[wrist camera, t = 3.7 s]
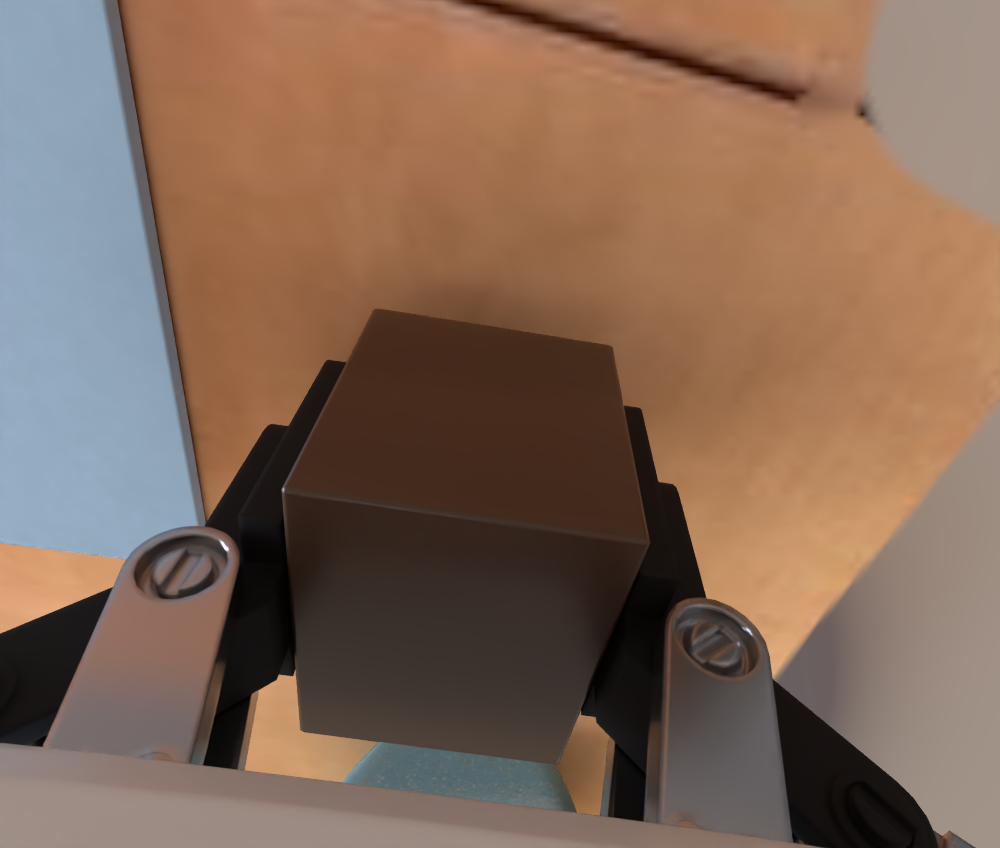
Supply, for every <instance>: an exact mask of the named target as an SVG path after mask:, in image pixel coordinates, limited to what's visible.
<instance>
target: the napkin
mask: <svg viewBox="0 0 1000 848" xmlns="http://www.w3.org/2000/svg"><path fill="white" fill-rule="evenodd" d="M205 524H206V521H205V515H204V509H203V503H202V497H201V491H200V485H199V479H198V474H197V468H196V462H195V456H194V450H193V444H192V438H191V432H190V426H189V421H188V415H187V409H186V403H185V397H184V391H183V385H182V379H181V373H180V367H179V362H178V356H177V350H176V344H175V338H174V332H173V326H172V320H171V314H170V309H169V303H168V297H167V291H166V285H165V279H164V273H163V267H162V261H161V256H160V250H159V244H158V238H157V232H156V226H155V220H154V214H153V208H152V203H151V197H150V191H149V185H148V179H147V173H146V167H145V161H144V155H143V149H142V144H141V138H140V132H139V126H138V120H137V114H136V108H135V102H134V96H133V91H132V85H131V79H130V73H129V67H128V61H127V55H126V49H125V43H124V38H123V32H122V26H121V20H120V14H119V8H118V2H117V0H0V543H5V544H12V545H20V546H28V547H36V548H43V549H51V550H59V551H66V552H74V553H82V554H90V555H97V556H105V557H113V558H121V559H127V558H128V557H129V555H130V554H131V552H132V551H133V550H135V549H136V548H137V547H138V546H139V545H140V544H142V543H143V542H144V541H146V540H147V539H149V538H151V537H153V536H155V535H157V534H159V533H161V532H164V531H167V530H171V529H174V528H177V527H186V526H203V527H204V526H205Z"/></svg>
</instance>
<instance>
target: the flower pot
mask: <svg viewBox="0 0 1000 848" xmlns="http://www.w3.org/2000/svg"><path fill="white" fill-rule="evenodd" d="M342 783H349V784H357V785H364V786H372V787H380V788H388V789H396V790H404V791H412V792H420V793H427V794H435V795H443V796H451V797H459V798H466V799H474V800H482V801H490V802H498V803H505V804H513V805H521V806H529V807H536V808H544V809H552V810H559V811H567V812H574V813H577V812H576V809H575V806H574V804H573V801H572V799H571V796H570V794H569V791H568V789H567V787H566V785H565V783H564V781H563V779H562V777H561V775H560V773H559V771H558V770H557V768H556V766H555V765H552V764H544V763H537V762H529V761H521V760H514V759H506V758H498V757H491V756H483V755H475V754H468V753H460V752H452V751H445V750H437V749H429V748H422V747H414V746H406V745H399V744H391V743H383V742H379V743H378V744H377V745H376V746H375V747H374V748H373V749H372V750H371V751H370V752H369V753H368V754H367V755H366V756H365V757H364V758H363V759H362V760H361V761H360V762H359V763H358V764H357V765H356V767H355V768H354V769H353V770H352V771H351V772H350V773H349V775H348V776H347V777H346V778H345V780H344V781H343V782H342Z"/></svg>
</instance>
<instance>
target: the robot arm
mask: <svg viewBox="0 0 1000 848" xmlns="http://www.w3.org/2000/svg"><path fill="white" fill-rule="evenodd" d="M345 365H346V362H340V361H333V360H327V361H326V362H325V363H324V365H323V367H322V368H321V370H320V372H319V374H318V375H317V377H316V379H315V381H314V382H313V384H312V386H311V388H310V389H309V391H308V393H307V395H306V396H305V398H304V400H303V402H302V403H301V405H300V407H299V409H298V410H297V412H296V414H295V416H294V418H293V419H292V421H291V423H290V425H289V426H283V425H276V424H270V425H268V426H267V427H266V428H265V430H264V431H263V432H262V434H261V436H260V437H259V439H258V440H257V442H256V444H255V445H254V447H253V448H252V450H251V452H250V453H249V455H248V457H247V458H246V460H245V461H244V463H243V465H242V466H241V468H240V469H239V471H238V473H237V474H236V476H235V477H234V479H233V481H232V482H231V484H230V486H229V487H228V489H227V490H226V492H225V494H224V495H223V497H222V498H221V500H220V502H219V503H218V505H217V507H216V508H215V510H214V511H213V513H212V515H211V516H210V518H209V519H208V521H207V523H206V524H205V526H204V527H203V526H186V527H177V528H174V529H171V530H167V531H164V532H161V533H159V534H157V535H155V536H153V537H151V538H149V539H147V540H146V541H144V542H143V543H142V544H140V545H139V546H138V547H137V548H136V549H135V550H133V551H132V552H131V554H130V555H129V557H128V558H127V560H126V561H125V563H124V564H123V566H122V568H121V570H120V573H119V575H118V577H117V579H116V582H115V584H114V586H113V587H112V588H109V589H107V590H105V591H102V592H100V593H97V594H95V595H93V596H90V597H88V598H85V599H83V600H81V601H78V602H76V603H73V604H71V605H68V606H66V607H64V608H61V609H59V610H56V611H54V612H52V613H49V614H47V615H44V616H42V617H40V618H37V619H35V620H32V621H30V622H27V623H25V624H23V625H20V626H18V627H15V628H13V629H11V630H8V631H6V632H3V633H1V634H0V848H975V847H973V846H972V845H971V844H969V843H967V842H966V841H964V840H963V839H961V838H960V837H958V836H957V835H955V834H954V833H952V832H951V831H948V832H947V833H946V834H944V835H943V836H941V835H940V834H938V833H936V832H935V831H933V829H932V827H931V825H930V823H929V820H928V818H927V816H926V815H925V814H924V812H923V811H922V809H921V808H920V807H919V805H918V804H917V802H916V801H915V800H914V798H913V797H912V796H911V795H910V794H909V793H908V792H907V791H906V790H905V789H904V788H903V787H902V786H901V785H900V784H899V783H898V782H897V781H895V780H894V779H893V778H892V777H891V776H889V775H888V774H887V773H886V772H885V771H883V770H882V769H881V768H880V767H879V766H877V765H876V764H875V763H874V762H872V761H871V760H870V759H868V757H866V756H865V755H864V754H863V753H862V752H860V751H859V750H858V749H857V748H856V747H854V746H853V745H852V744H851V743H849V742H848V741H847V740H846V739H845V738H843V737H842V736H841V735H840V734H839V733H837V732H836V731H835V730H834V729H832V728H831V727H830V726H829V725H828V724H826V723H825V722H824V721H823V720H821V719H820V718H819V717H818V716H817V715H815V714H814V713H813V712H812V711H811V710H809V709H808V708H807V707H806V706H804V705H803V704H802V703H801V702H800V701H798V700H797V699H796V698H795V697H794V696H792V695H791V694H790V693H789V692H788V691H786V690H785V689H784V688H783V687H781V686H780V685H779V684H778V683H777V682H775V681H774V680H773V679H772V672H771V664H770V656H769V652H768V649H767V646H766V642H765V640H764V639H763V637H762V636H761V634H760V632H759V631H758V629H757V628H756V627H755V626H754V625H753V624H752V623H751V622H750V621H749V620H748V619H747V618H746V617H745V616H744V615H743V614H741V613H740V612H738V611H737V610H735V609H734V608H732V607H731V606H728V605H726V604H724V603H721V602H719V601H716V600H712V599H706V595H705V591H704V587H703V584H702V580H701V576H700V572H699V568H698V565H697V561H696V557H695V553H694V550H693V546H692V542H691V538H690V535H689V531H688V527H687V523H686V520H685V516H684V512H683V508H682V504H681V501H680V497H679V493H678V491H677V488H676V487H675V486H674V485H673V484H668V483H661V482H658V479H657V474H656V470H655V466H654V461H653V457H652V453H651V448H650V444H649V440H648V435H647V431H646V427H645V422H644V418H643V414H642V411H641V409H640V408H636V407H630V406H624V410H625V416H626V421H627V426H628V431H629V436H630V442H631V447H632V452H633V457H634V462H635V467H636V473H637V478H638V483H639V488H640V493H641V499H642V504H643V509H644V514H645V519H646V525H647V530H648V535H649V540H650V544H649V547H648V549H647V552H646V554H645V557H644V559H643V561H642V564H641V566H640V569H639V571H638V573H637V576H636V578H635V581H634V583H633V585H632V588H631V590H630V593H629V595H628V597H627V600H626V602H625V605H624V607H623V609H622V612H621V614H620V617H619V619H618V622H617V624H616V626H615V629H614V631H613V634H612V636H611V638H610V641H609V643H608V646H607V648H606V650H605V653H604V655H603V658H602V660H601V662H600V665H599V667H598V670H597V672H596V675H595V677H594V679H593V682H592V684H591V687H590V689H589V691H588V694H587V696H586V699H585V701H584V703H583V706H582V708H581V715H585V716H593V717H596V723H597V724H598V725H599V726H600V727H601V728H602V729H603V730H604V731H605V732H606V733H607V734H608V735H609V736H610V737H609V741H608V748H607V757H606V767H605V776H604V785H603V794H602V803H601V812H600V816H597V815H589V814H582V813H574V812H567V811H559V810H552V809H544V808H536V807H529V806H521V805H513V804H505V803H498V802H490V801H482V800H474V799H466V798H459V797H451V796H443V795H435V794H427V793H420V792H412V791H404V790H396V789H388V788H380V787H372V786H364V785H357V784H349V783H341V782H333V781H325V780H317V779H309V778H301V777H293V776H285V775H276V774H268V773H260V772H252V771H244V770H245V765H246V759H247V754H248V748H249V743H250V737H251V732H252V726H253V721H254V715H255V710H256V704H257V699H258V690H260V689H261V688H263V687H265V686H267V685H268V684H270V683H272V682H274V681H275V680H277V677H278V675H279V674H280V675H287V676H293V675H294V672H295V669H296V667H295V655H294V642H293V629H292V616H291V603H290V590H289V577H288V565H287V552H286V539H285V526H284V513H283V500H282V488H283V486H284V484H285V482H286V480H287V478H288V476H289V474H290V472H291V470H292V468H293V466H294V464H295V462H296V460H297V458H298V456H299V454H300V452H301V451H302V449H303V447H304V445H305V443H306V441H307V439H308V437H309V435H310V433H311V431H312V429H313V427H314V425H315V423H316V421H317V419H318V417H319V415H320V413H321V412H322V410H323V408H324V406H325V404H326V402H327V400H328V398H329V396H330V394H331V392H332V390H333V388H334V386H335V384H336V382H337V380H338V378H339V376H340V374H341V373H342V371H343V369H344V367H345Z"/></svg>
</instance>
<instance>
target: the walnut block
mask: <svg viewBox="0 0 1000 848" xmlns="http://www.w3.org/2000/svg"><path fill="white" fill-rule="evenodd" d="M282 500H283V513H284V526H285V539H286V552H287V565H288V577H289V590H290V603H291V616H292V629H293V642H294V655H295V667H296V680H297V693H298V706H299V719H300V730H301V731H303V732H307V733H314V734H322V735H330V736H337V737H345V738H353V739H360V740H368V741H376V742H383V743H391V744H399V745H406V746H414V747H422V748H429V749H437V750H445V751H452V752H460V753H468V754H475V755H483V756H491V757H498V758H506V759H514V760H521V761H529V762H537V763H544V764H552V765H556V764H559V761H560V759H561V756H562V754H563V752H564V749H565V747H566V744H567V742H568V740H569V737H570V735H571V732H572V730H573V727H574V725H575V723H576V720H577V718H578V715H579V713H580V711H581V708H582V706H583V703H584V701H585V699H586V696H587V694H588V691H589V689H590V687H591V684H592V682H593V679H594V677H595V675H596V672H597V670H598V667H599V665H600V662H601V660H602V658H603V655H604V653H605V650H606V648H607V646H608V643H609V641H610V638H611V636H612V634H613V631H614V629H615V626H616V624H617V622H618V619H619V617H620V614H621V612H622V609H623V607H624V605H625V602H626V600H627V597H628V595H629V593H630V590H631V588H632V585H633V583H634V581H635V578H636V576H637V573H638V571H639V569H640V566H641V564H642V561H643V559H644V557H645V554H646V552H647V549H648V547H649V544H650V540H649V535H648V530H647V525H646V519H645V514H644V509H643V504H642V499H641V493H640V488H639V483H638V478H637V473H636V467H635V462H634V457H633V452H632V447H631V442H630V436H629V431H628V426H627V421H626V416H625V410H624V405H623V400H622V395H621V390H620V384H619V379H618V374H617V369H616V364H615V359H614V353H613V348H612V347H611V346H609V345H604V344H598V343H592V342H585V341H579V340H573V339H567V338H560V337H554V336H548V335H541V334H535V333H529V332H523V331H516V330H510V329H504V328H497V327H491V326H485V325H479V324H472V323H466V322H460V321H453V320H447V319H441V318H435V317H428V316H422V315H416V314H409V313H403V312H397V311H391V310H384V309H374V310H373V312H372V314H371V316H370V318H369V320H368V322H367V324H366V326H365V328H364V330H363V332H362V334H361V335H360V337H359V339H358V341H357V343H356V345H355V347H354V349H353V351H352V353H351V355H350V357H349V359H348V361H347V363H346V365H345V367H344V369H343V371H342V373H341V374H340V376H339V378H338V380H337V382H336V384H335V386H334V388H333V390H332V392H331V394H330V396H329V398H328V400H327V402H326V404H325V406H324V408H323V410H322V412H321V413H320V415H319V417H318V419H317V421H316V423H315V425H314V427H313V429H312V431H311V433H310V435H309V437H308V439H307V441H306V443H305V445H304V447H303V449H302V451H301V452H300V454H299V456H298V458H297V460H296V462H295V464H294V466H293V468H292V470H291V472H290V474H289V476H288V478H287V480H286V482H285V484H284V486H283V488H282Z"/></svg>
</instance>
